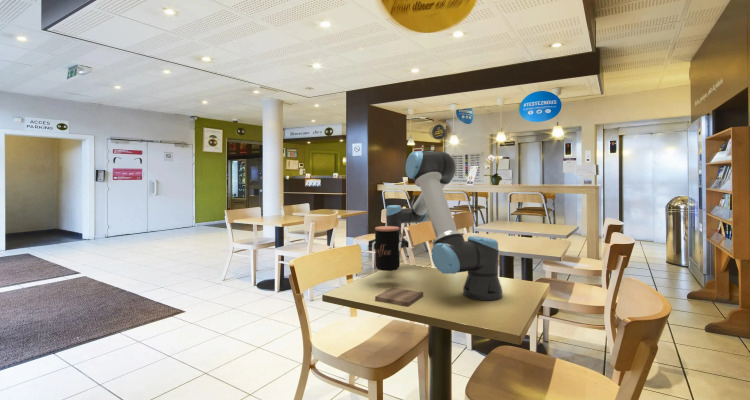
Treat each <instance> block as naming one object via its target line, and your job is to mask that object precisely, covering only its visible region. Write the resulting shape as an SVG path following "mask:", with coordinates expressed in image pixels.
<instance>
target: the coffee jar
mask: <svg viewBox="0 0 750 400" xmlns="http://www.w3.org/2000/svg"><path fill="white" fill-rule="evenodd" d="M374 230H375V234H374V239H375V250H374V256H375V262H374V263H375V268H376V270H379V271H384V272H390V271H393V272H394V271H396V270H397V271H398V270H399V268H400V259H401V258H400V257H401V256H400V252H401V251H399V232H398V231H399V227H396V226H386V225H384V226H383V225H380V226H376V227H375V228H374Z"/></svg>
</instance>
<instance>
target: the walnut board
mask: <svg viewBox="0 0 750 400" xmlns="http://www.w3.org/2000/svg"><path fill="white" fill-rule="evenodd" d="M422 297H424V292H423V291H417V290H411V289H405V288H399V287H390V288H389V289H386V290H385V291H383V292H381V293H379V294H377V295H376V296H374V300H375V301H376V302H382V303H388V304H393V305H397V304H398V305H399V306H403V307H409V306H411V305H413V304H414V303H416V302H417V301H418V300H419V299H421V298H422ZM398 305H397V306H398Z"/></svg>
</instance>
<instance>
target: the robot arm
mask: <svg viewBox="0 0 750 400" xmlns="http://www.w3.org/2000/svg"><path fill="white" fill-rule="evenodd" d="M456 166H457V165H456V161H455V159H454V157H452V155H450V154H449V153H447V152H445V151H424V150H423V151H422V150H417V151H412V152H411V153H409V155H408V157H407V159H406V162H405V174H406V176H407V178H409V179H411V180H414V183H415V186H416V187H418V188H420V191H421V193H420V194H419V195H418V196H417V199H416V201H415V202H414V203H413V205H412V207H411V208H410V207H409V208H402V206H401V204H399V205H398V204H394V205H393V204H391V205H387V206H386V208H385V209H386V210H385V218H386V220H385V222H386V224H385V226H396V227H399V231H398V232H399V251H400V252H401V250H402V249H404V248H409V241H408V240H407V239H406V238H402V224H414V223H415V224H416V223H418V224H419V223H424V222H426V221H427V220H428V216H429V219H430V223H431V225H432V229H433V232H434V235H435V240H434V241H433V246H432V248H431V260H432V262H433V265H434V267H435V268H436V269H437V270H438V271H439V272H440V273H442V274H445V275H446V274H447V275H448V274H449V275H450V274H453V275H454V274H457V273H465V272H467V276H466V279H465V282H464V284H463V287H462V290H463V291H462V294H463V296H464V297H466V298H469V299H472V300H478V301H496V300H500V299H502V298H503V289H502V286H501V282H500V280H499V252H500V249H499V243H498V241H497V239H493V238H491V237H490V238H489V237H484V236H483V237H482V236H475V235H470V236H468V237H467V240H465V238H464V235H463V233H461V232H459V231H458V230H457V227H456V224H455V221H454V219H453V216H452V213H451V209H450V207H449V204H448V201H447V198H446V195H445V192H444V188H445V186H446V185H448V184H450V183H451V182H452V180H453V178H454V177H455V174H456V170H457V169H456ZM368 247H369V248H371V249H372V251H375V238H374V239H372V240H371V239H370V240H368Z"/></svg>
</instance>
